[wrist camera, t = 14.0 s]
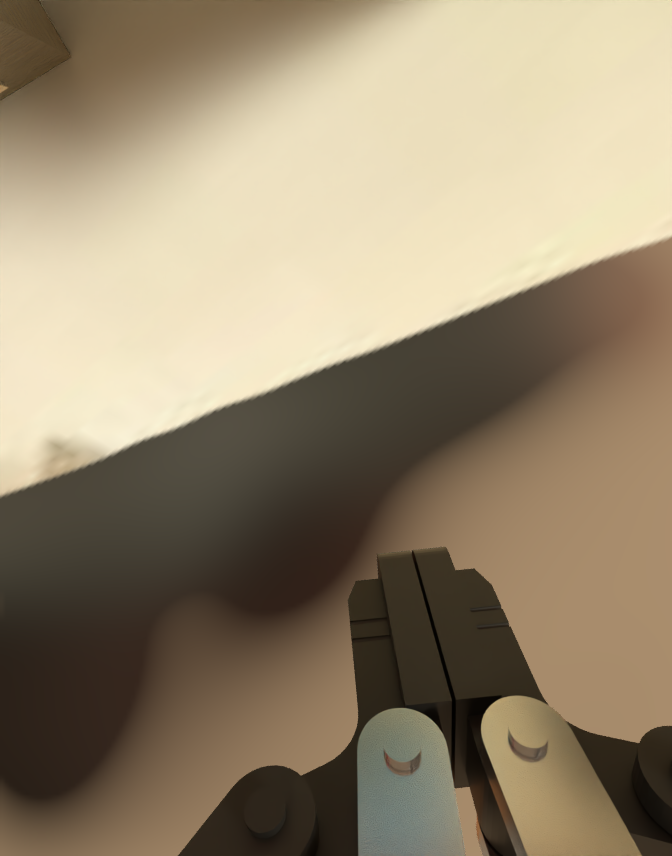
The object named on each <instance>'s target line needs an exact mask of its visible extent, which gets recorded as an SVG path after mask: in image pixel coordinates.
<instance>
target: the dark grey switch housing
mask: <svg viewBox="0 0 672 856" xmlns="http://www.w3.org/2000/svg"><path fill="white" fill-rule="evenodd" d="M70 57H71V56H70V54H69V52H68V51H67V49H66V47H65V45H64V44H63V42H62V40H61V38H60V37H59V35H58V33H57V32H56V30H55V28H54V26H53V25H52V23H51V21H50V19H49V18H48V16H47V14H46V13H45V11H44V9H43V7H42V6H41V4H40V2H39V0H0V100H2V99H3V98H5V97H7V96H8V95H10V94H11V93H13V92H15V91H16V90H18V89H20V88H21V87H23V86H24V85H26V84H28V83H29V82H31V81H33V80H34V79H36V78H37V77H39V76H41V75H42V74H44V73H46V72H47V71H49V70H51V69H52V68H54V67H55V66H57V65H59V64H60V63H62V62H64V61H65V60H67V59H68V58H70Z"/></svg>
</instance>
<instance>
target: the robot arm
mask: <svg viewBox="0 0 672 856" xmlns="http://www.w3.org/2000/svg"><path fill="white" fill-rule="evenodd" d="M377 566H378V567H377V568H378V579H371V580H361V581H356V582H355V585H354V587H353V589H352V592H351V594H350V596H349V599H348V604H349V605H348V606H349V616H350V628H351V638H352V648H353V660H354V670H355V681H356V692H357V702H358V724H357V728H356V731H355V734H354V736H353V738H352V740H351V742H350V743H349V745H348V746H347V747H346V749H345V750H344V751H343V752H342V753H341V754H340V755H338V756H337V757H336V758H335V759H333V760H332V761H330V762H328V763H326V764H325V765H323V766H321V767H318V768H316V769H314V770H312V771H310V772H308V773H306V774H304V775H302V776H300V775H299V774H298V773H297V772H295V771H293V770H291V769H290V768H287V767H284V766H266V767H261V768H259V769H256V770H254V771H252V772H250V773H248V774H247V775H245V776H244V777H243V778H241V779H240V780H239V781H238V782H237V783H236V784H235V785H234V786H233V788H232V789H231V790H230V791H229V792H228V794H227V795H226V796H225V798H224V799H223V800H222V801H221V802H220V804H219V805H218V806H217V808H216V809H215V810H214V811H213V813H212V814H211V815H210V816H209V818H208V819H207V820H206V821H205V823H204V824H203V825H202V826H201V828H200V829H199V830H198V831H197V833H196V834H195V835H194V837H193V838H192V839H191V840H190V841H189V843H188V844H187V845H186V847H185V848H184V849H183V850H182V852H181V853H180V854H179V855H178V856H466V854H465V848H464V843H463V836H462V830H461V824H460V819H459V812H458V807H457V800H456V794H455V789H454V788H462V787H470V790H471V794H472V797H473V801H474V804H475V809H476V812H477V822H476V830H477V837H478V841H479V845H480V848H481V851H482V854H483V856H672V726H662V727H657V728H654V729H652V730H650V731H649V732H647V733H646V734H645V735H644V736H643V737H642V739H641V741H640V743H635V742H630V741H625V740H621V739H616V738H611V737H606V736H602V735H597V734H593V733H589V732H587V731H584V730H582V729H579V728H578V727H576V726H574V725H572V724H570V723H569V722H567V721H566V720H565V719H564V718H563V717H562V716H561V715H560V714H559V713H558V712H557V711H555V710H554V709H553V708H552V707H550V706H549V705H548V704H547V702H546V701H545V700H544V698H543V696H542V694H541V693H540V691H539V689H538V686H537V684H536V682H535V680H534V678H533V675H532V673H531V671H530V669H529V666H528V664H527V662H526V660H525V658H524V655H523V653H522V651H521V649H520V647H519V644H518V642H517V640H516V638H515V635H514V633H513V631H512V629H511V627H509V623H508V620H507V618H506V615H505V613H504V611H503V609H501V605H500V602H499V600H498V598H497V596H496V593H495V591H494V589H493V587H492V585H491V584H490V583H489V582H488V581H487V580H486V579H485V578H484V577H483V576H481V574H479V573H478V572H477V571H476V570H475V569H465V570H455V568H454V565H453V563H452V560H451V558H450V555H449V552H448V550H447V548H446V547H439V548H430V549H420V550H412V553H411V552H410V551H401V552H392V553H382V554H377Z"/></svg>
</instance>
